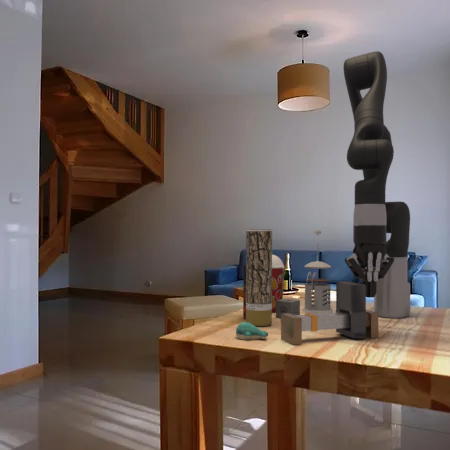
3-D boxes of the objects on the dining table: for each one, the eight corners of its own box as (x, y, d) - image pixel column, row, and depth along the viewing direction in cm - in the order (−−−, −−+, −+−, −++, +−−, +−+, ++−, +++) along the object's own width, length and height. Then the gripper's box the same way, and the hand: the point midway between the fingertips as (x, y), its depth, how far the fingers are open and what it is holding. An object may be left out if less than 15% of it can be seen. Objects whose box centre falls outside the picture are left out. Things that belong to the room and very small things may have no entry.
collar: (346, 331, 115) (346, 281, 115) (365, 337, 108) (365, 284, 108) (336, 331, 114) (336, 281, 114) (354, 338, 107) (354, 285, 107)
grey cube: (291, 320, 131) (291, 302, 131) (275, 318, 134) (275, 300, 134) (299, 317, 135) (300, 300, 135) (284, 315, 138) (284, 298, 138)
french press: (338, 310, 147) (338, 229, 148) (325, 315, 138) (325, 229, 138) (308, 307, 153) (309, 229, 153) (293, 312, 143) (294, 229, 143)
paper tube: (270, 327, 120) (270, 229, 121) (243, 326, 122) (244, 229, 122) (273, 322, 127) (273, 229, 127) (247, 321, 128) (248, 229, 129)
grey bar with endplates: (362, 332, 115) (362, 308, 115) (378, 337, 110) (378, 312, 110) (280, 339, 108) (281, 313, 108) (293, 345, 102) (293, 318, 102)
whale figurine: (241, 335, 113) (241, 319, 113) (270, 338, 110) (270, 321, 110) (232, 340, 107) (232, 323, 107) (263, 343, 104) (263, 326, 104)
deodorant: (241, 316, 135) (242, 264, 136) (262, 316, 136) (262, 264, 136) (244, 320, 129) (244, 265, 130) (266, 320, 130) (266, 265, 130)
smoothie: (287, 309, 148) (287, 245, 148) (281, 314, 140) (281, 246, 140) (261, 308, 151) (261, 245, 151) (254, 312, 143) (254, 245, 143)
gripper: (382, 224, 118) (382, 294, 118) (336, 223, 114) (336, 296, 114) (403, 224, 111) (403, 298, 111) (355, 223, 107) (355, 300, 107)
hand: (369, 297), depth 112 cm, fingers closed
